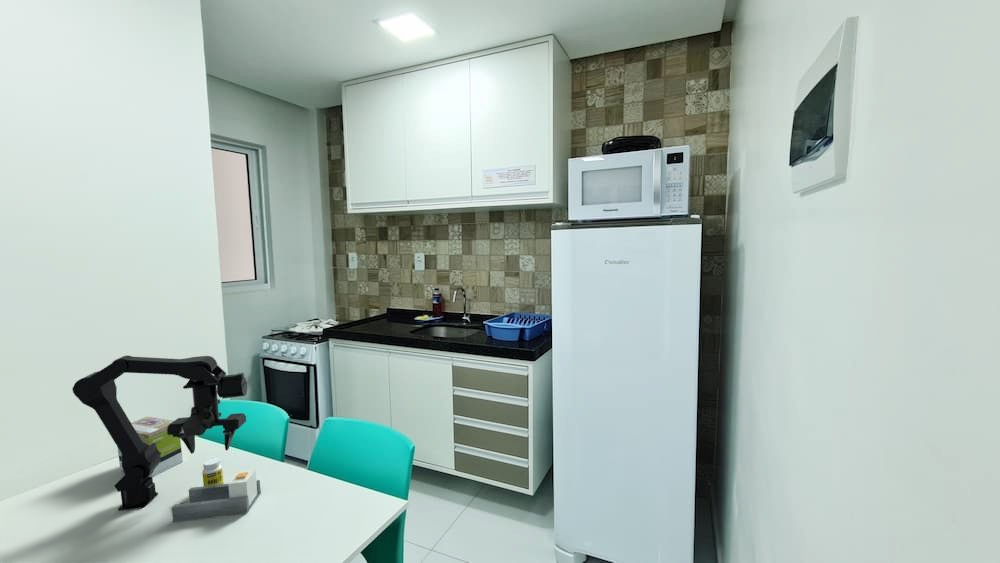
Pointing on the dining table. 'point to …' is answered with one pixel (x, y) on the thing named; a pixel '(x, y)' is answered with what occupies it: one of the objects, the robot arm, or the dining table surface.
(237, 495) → the seated module
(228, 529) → the dining table surface
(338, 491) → the dining table surface
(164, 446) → the tea box
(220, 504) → the grey tray
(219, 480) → the supplement bottle
